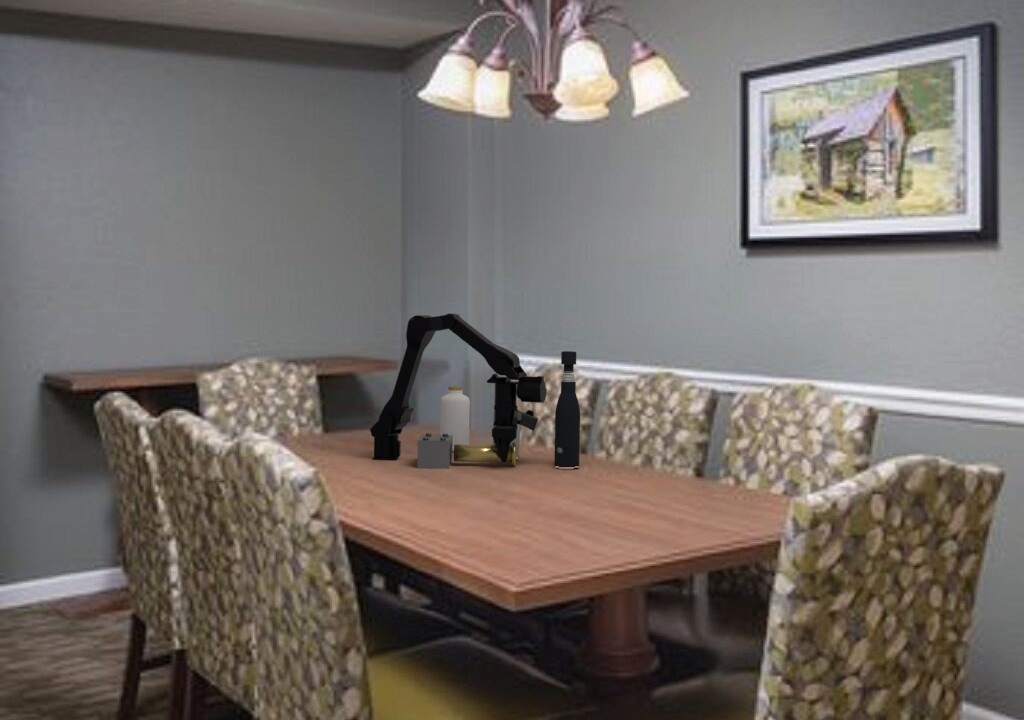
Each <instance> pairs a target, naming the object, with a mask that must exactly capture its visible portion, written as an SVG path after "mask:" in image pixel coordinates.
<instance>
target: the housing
mask: <svg viewBox="0 0 1024 720" xmlns="http://www.w3.org/2000/svg"><path fill="white" fill-rule="evenodd" d="M452 447H453V435H448V434H443V435H440V434H432V433H429V432H427V433H425V434H421V435H420V437H418V439H417V469H437V468H449V467H450V468H451V466H450V465H452V464H451V463H453V452H452ZM450 468H449V469H450Z"/></svg>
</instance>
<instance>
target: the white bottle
mask: <svg viewBox="0 0 1024 720" xmlns="http://www.w3.org/2000/svg"><path fill="white" fill-rule="evenodd" d="M463 392H464V390H463V387H462V386H447V394H444V395H443V396H441V398H440V401H439V403H440V409H439V410H440V415H439V435H443V434H448V435H453V447H452V450H454V444H456V445H470V410H471V409H470V406H471V405H470V403H471V402H470V401H471V400H470V398H469V397H468V396H467V395H465V394H463Z"/></svg>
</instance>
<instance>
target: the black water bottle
mask: <svg viewBox="0 0 1024 720" xmlns="http://www.w3.org/2000/svg"><path fill="white" fill-rule="evenodd" d="M560 358H561V359H560V365H563V374H562V376H561V377H562V378H561V381H560V394H559V396H558V399H557V402H556V407H555V410H554V411H555V412H554V415H555V416H554V417H555V418H554V457H553V458H554V461H553V463H554V465H555V466H559V467H575V466H579V467H580V443H581V440H580V439H581V438H580V437H581V409H580V408H581V407H580V402H579V400H578V396H577V393H576V392H577V391H576V387H577V386H576V385H577V384H576V382H577V381H575V380H576V379H575V378H576V376H575V374H573V373H574V372H575V371H574V365H577V351H570V350H569V351H568V350H565V351H561V356H560ZM554 465H553V466H554Z"/></svg>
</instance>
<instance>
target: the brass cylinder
mask: <svg viewBox="0 0 1024 720" xmlns="http://www.w3.org/2000/svg"><path fill="white" fill-rule="evenodd" d="M453 462H459V463H460V462H461V463H462V462H464V463H465V462H466V463H467V462H468V463H503V462H502V461H501V458H500V455H499V453H498V450H497V447H496V445H493V444H469V445H456V444H454V452H453ZM506 463H511V466H512V465H516V466H517V459H516V442H512V446H510V447H509V452H508V457H507V461H506Z"/></svg>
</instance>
